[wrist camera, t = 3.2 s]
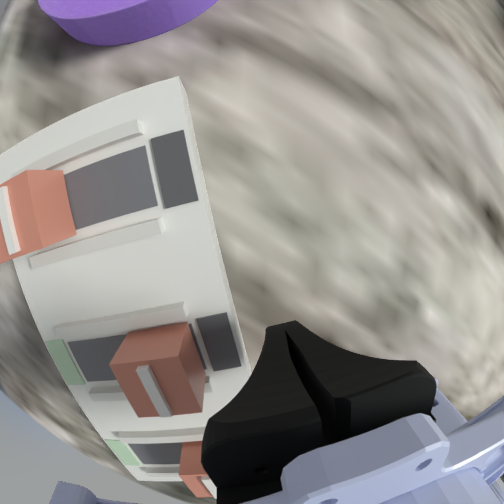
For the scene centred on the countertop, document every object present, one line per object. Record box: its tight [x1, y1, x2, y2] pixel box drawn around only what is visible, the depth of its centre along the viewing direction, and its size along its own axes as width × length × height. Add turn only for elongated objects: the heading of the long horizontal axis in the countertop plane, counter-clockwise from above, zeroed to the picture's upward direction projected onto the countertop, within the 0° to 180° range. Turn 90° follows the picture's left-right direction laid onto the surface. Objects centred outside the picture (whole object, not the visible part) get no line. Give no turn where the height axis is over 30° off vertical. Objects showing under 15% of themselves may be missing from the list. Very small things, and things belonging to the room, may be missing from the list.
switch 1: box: [0, 170, 77, 264], centre depth 9 cm, size 3×3×3 cm
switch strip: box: [0, 76, 252, 481], centre depth 14 cm, size 11×24×3 cm, turn 12°
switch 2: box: [179, 441, 217, 499], centre depth 13 cm, size 3×3×3 cm
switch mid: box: [109, 322, 206, 418], centre depth 11 cm, size 3×3×3 cm
